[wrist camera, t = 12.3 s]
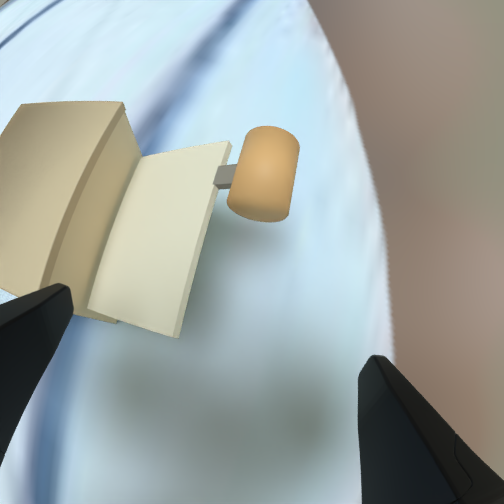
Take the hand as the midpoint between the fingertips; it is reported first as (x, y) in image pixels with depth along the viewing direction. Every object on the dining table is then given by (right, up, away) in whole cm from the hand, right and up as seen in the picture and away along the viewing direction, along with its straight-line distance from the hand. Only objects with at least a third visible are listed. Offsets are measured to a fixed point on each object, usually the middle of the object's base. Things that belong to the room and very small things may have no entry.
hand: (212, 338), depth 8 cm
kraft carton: (-11, +3, +12) cm, 16 cm away
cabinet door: (-6, +4, +7) cm, 10 cm away
